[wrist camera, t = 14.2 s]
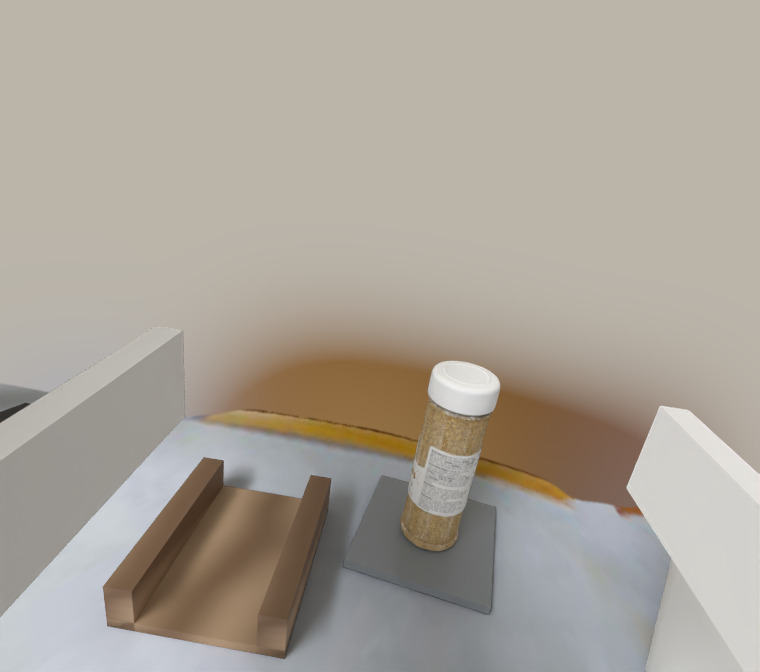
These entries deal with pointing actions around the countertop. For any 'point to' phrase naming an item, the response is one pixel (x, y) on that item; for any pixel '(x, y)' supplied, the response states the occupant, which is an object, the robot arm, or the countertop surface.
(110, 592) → the walnut cradle
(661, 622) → the foam cup
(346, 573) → the countertop surface
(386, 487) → the slate coaster
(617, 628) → the countertop surface
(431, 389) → the spice jar
